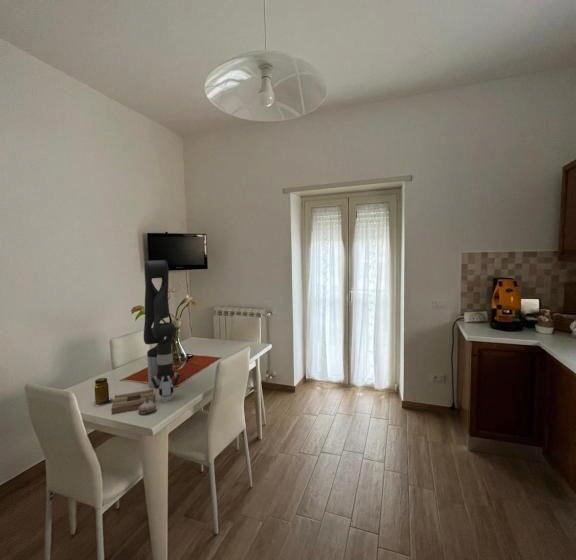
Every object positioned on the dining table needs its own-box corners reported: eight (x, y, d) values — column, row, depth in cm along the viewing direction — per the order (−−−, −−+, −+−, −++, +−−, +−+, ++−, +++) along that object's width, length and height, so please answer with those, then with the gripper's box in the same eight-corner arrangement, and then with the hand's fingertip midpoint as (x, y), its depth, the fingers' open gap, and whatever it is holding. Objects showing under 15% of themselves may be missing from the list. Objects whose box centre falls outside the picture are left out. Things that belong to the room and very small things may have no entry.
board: (115, 401, 158) (115, 395, 158) (153, 394, 165) (153, 389, 165) (111, 414, 144) (111, 408, 144) (153, 406, 151) (153, 400, 151)
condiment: (93, 402, 157) (92, 379, 157) (112, 397, 163) (111, 375, 162) (95, 407, 152) (94, 383, 151) (115, 402, 157) (114, 379, 156)
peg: (162, 398, 160) (161, 379, 159) (170, 397, 162) (169, 378, 161) (162, 402, 156) (161, 382, 156) (171, 400, 158) (170, 381, 157)
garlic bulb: (159, 409, 149) (158, 393, 148) (148, 416, 142) (148, 399, 141) (145, 407, 151) (145, 391, 150) (134, 414, 144) (134, 398, 143)
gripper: (179, 357, 164) (180, 389, 165) (149, 361, 158) (151, 394, 159) (180, 361, 157) (181, 394, 158) (149, 366, 151) (151, 400, 152)
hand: (166, 394), depth 159 cm, fingers closed on peg, 4 cm apart
